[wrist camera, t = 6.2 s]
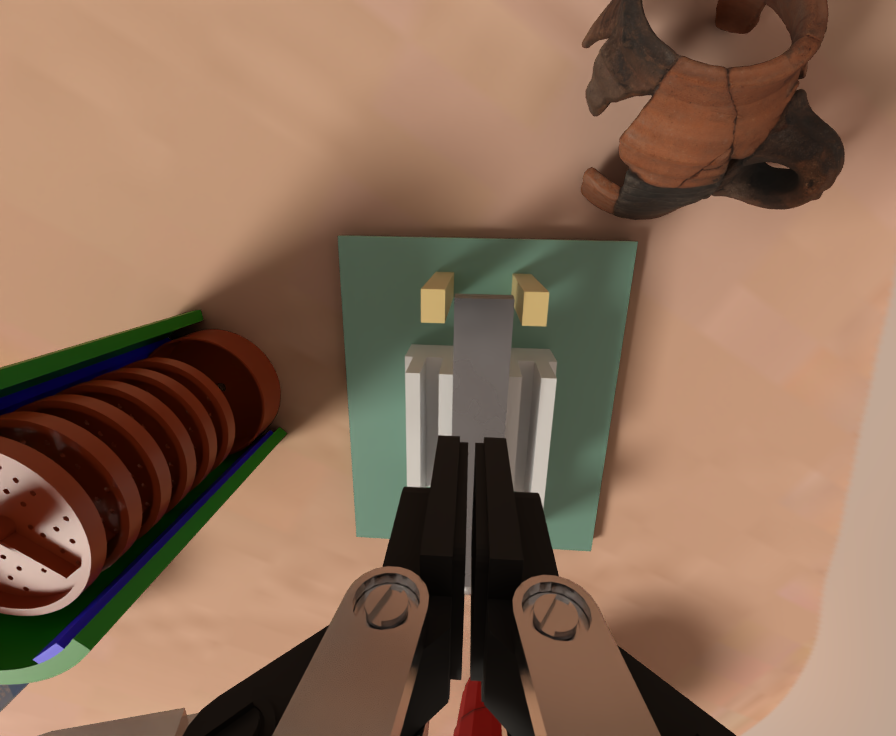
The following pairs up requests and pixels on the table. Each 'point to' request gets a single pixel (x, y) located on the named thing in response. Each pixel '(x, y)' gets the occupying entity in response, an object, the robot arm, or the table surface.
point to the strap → (480, 380)
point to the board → (531, 364)
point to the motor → (116, 476)
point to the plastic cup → (475, 714)
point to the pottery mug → (711, 116)
